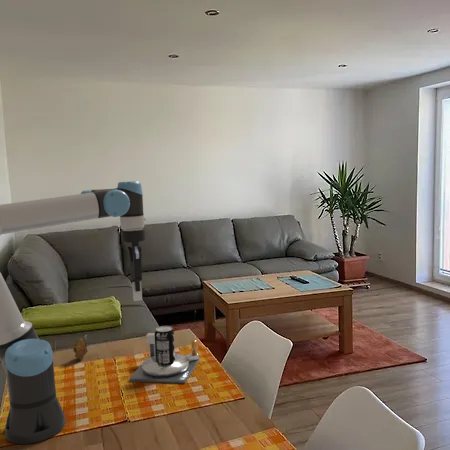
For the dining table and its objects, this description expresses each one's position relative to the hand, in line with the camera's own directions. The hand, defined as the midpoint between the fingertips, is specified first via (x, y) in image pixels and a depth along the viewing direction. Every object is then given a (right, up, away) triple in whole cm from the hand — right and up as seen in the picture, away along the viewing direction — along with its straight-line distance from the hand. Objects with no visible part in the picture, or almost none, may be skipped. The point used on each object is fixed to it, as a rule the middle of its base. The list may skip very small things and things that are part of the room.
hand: (137, 300), depth 155 cm
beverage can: (+8, -23, +7) cm, 25 cm away
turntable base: (+8, -25, +8) cm, 28 cm away
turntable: (+10, -24, +9) cm, 27 cm away
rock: (-25, -26, +22) cm, 42 cm away
